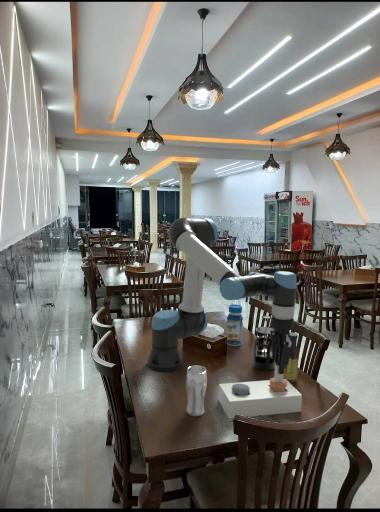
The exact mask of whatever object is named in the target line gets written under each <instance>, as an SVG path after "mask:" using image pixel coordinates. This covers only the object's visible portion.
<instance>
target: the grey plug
mask: <svg viewBox="0 0 380 512" xmlns="http://www.w3.org/2000/svg"><path fill="white" fill-rule="evenodd" d="M232 391H233V392H234V393H235V395H236V396H238V395H247V394H248V393H249V392H250V388H249V386H247V385H245V384H234V385H233V386H232Z"/></svg>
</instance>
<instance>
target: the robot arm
mask: <svg viewBox="0 0 380 512" xmlns="http://www.w3.org/2000/svg"><path fill="white" fill-rule="evenodd" d="M168 238H169V241H170V244H171V245H172V246H173V247H174V248H175V249H176V250H177V251H178V252H180V253H181V252H182V253H184V254H185V255H186V261H185V262H186V263H185V273H184V274H185V275H184V283H183V294H182V301H181V303H179V305H178V309H177V310H175V309H163V310H160V311H157V312H156V313H154V314H153V316H152V321H151V348H150V351H149V354H148V357H147V361H146V366H147V367H148V368H149V369H150V370H151V371H155V372H161V373H169V372H175V371H177V370H179V369H180V368H181V367H182V364H183V361H182V360H183V359H182V356H181V353H180V349H179V340H180V339H181V340H182V339H185V338H188V337H194V336H197V335H199V334H202V333H203V332H205V330H206V329H207V326H208V324H209V317H208V316H207V312H206V311H205V307H204V306H203V305H202V299H203V292H204V282H205V276H206V275H207V276H209V278H211V279H212V280H213V281H214V282H215V283H216V284H217V285H218V286H219V288H218V289H219V293H220V294H221V297H222V298H223V299H224V300H226V301H238V300H242V299H245V298H252V297H256V296H266V297H270V298H272V303H271V315H272V316H271V319H270V320H271V322H270V326H271V328H273V329H274V330H271V331H270V333H271V334H270V336H271V340H272V342H271V344H272V347H271V351H272V357H271V358H274V367H275V368H274V377H273V378H274V381H275V382H283V376H284V365H288V363H289V358H290V354H291V349H292V346H293V344H294V343H293V341H290V339H289V338H290V332H291V330H293V329H294V324H295V319H294V317H295V309H296V307H295V305H296V294H297V293H296V292H297V287H298V286H297V285H298V284H297V275H296V273H294V272H292V271H291V272H290V271H285V270H284V271H283V270H282V271H281V270H279V271H276V272H274V275H271V274H270V275H269V274H265V273H261V272H259V271H257V272H254V271H251V272H248V274H246V275H240V273H238V272H237V271H236V270H235V269H233V267H231V266H230V265H229V264H227V263H226V262H225V261H224V260H223V259H221V257H219V256H218V255H217V254H216V253H215V252H213V251H212V245H214V244H216V242H217V240H218V238H219V230H218V226H217V225H216V223H215V221H213V220H212V219H210V218H206V217H180V218H177V219H176V220H174V221H173V222H171V225H170V226H169V229H168ZM205 273H206V275H205Z"/></svg>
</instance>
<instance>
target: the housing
mask: <svg viewBox="0 0 380 512" xmlns="http://www.w3.org/2000/svg"><path fill="white" fill-rule="evenodd" d="M284 380H286V379H284ZM286 381H287V380H286ZM234 384H245V385H247V386H249V388H250V392H249V393H248V394H247V395H238V396H236V395H235V393H234V392H233V391H232V386H233V385H234ZM217 399H218V401H219V404H220V406H221V407H222V408H223V410H224V412H225V414H226V416H227V418H228V419H234V418H233V417H234V415H235V414H239V415H243V416H248V417H247V418H250V417H251V418H252V417H259V415H261V416H270V415H280V414H290V413H291V414H292V413H299V412H302V400H303V395H302V393H301V392H299V391H298V390H297V388H295V387H294V386H293V384H292V383H289V382H288V381H287V387H285V388H284V392H274V391H273V390H272V386H271V385H270V379H268V380H257V381H256V380H255V381H243V382H229V383H228V382H227V383H219V384H218V398H217Z"/></svg>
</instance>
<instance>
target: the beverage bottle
mask: <svg viewBox="0 0 380 512" xmlns="http://www.w3.org/2000/svg"><path fill="white" fill-rule="evenodd" d="M242 312H243V306H242V305H240V304H237V303H236V304H235V303H233V304H229V305H228V315H227V317H226V320H227V321H226V333H225V334H226V335H225V338H226V337H227V343H226V344H227V346H232V347H239V346H241V345H242V342H243V341H242V340H243V326H244V323H243V321H244V318H243V315H242Z"/></svg>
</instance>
